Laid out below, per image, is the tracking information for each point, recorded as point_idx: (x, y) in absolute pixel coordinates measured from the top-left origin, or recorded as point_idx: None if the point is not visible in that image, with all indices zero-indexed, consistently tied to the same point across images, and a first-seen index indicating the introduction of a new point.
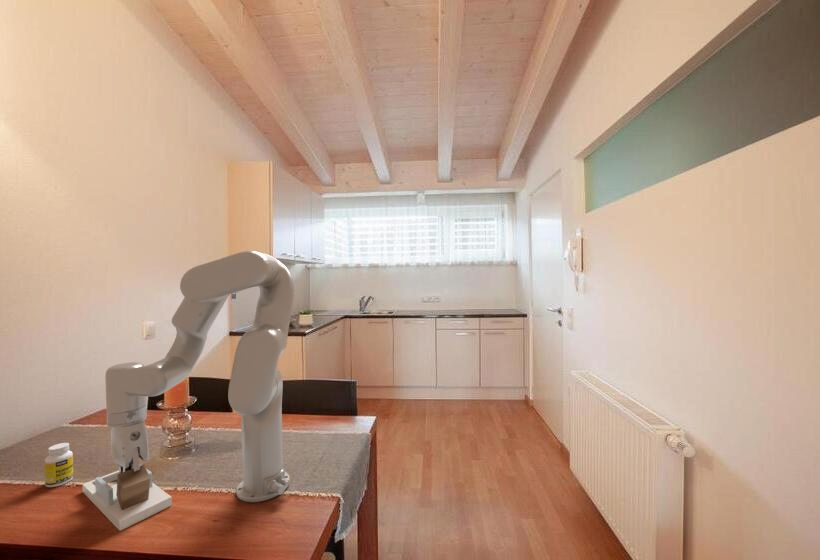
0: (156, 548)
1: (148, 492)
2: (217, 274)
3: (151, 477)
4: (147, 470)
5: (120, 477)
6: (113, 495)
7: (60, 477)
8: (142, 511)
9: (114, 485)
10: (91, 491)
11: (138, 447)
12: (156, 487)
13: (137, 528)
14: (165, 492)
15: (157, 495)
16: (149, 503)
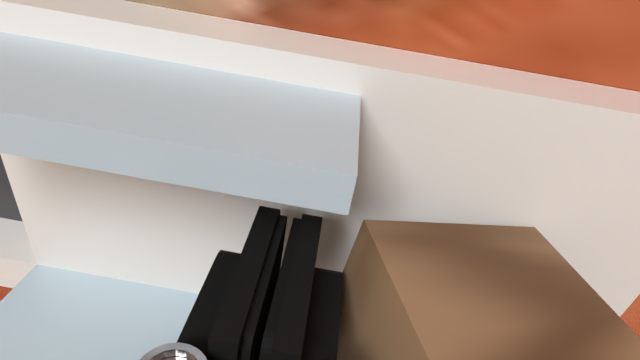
0: None
1: (591, 291)
2: None
3: (355, 148)
4: (215, 159)
5: None
6: (198, 270)
7: None
8: (621, 308)
9: (30, 201)
10: (11, 284)
11: None
12: (422, 90)
13: (629, 308)
14: (621, 112)
15: (571, 169)
16: (600, 253)
